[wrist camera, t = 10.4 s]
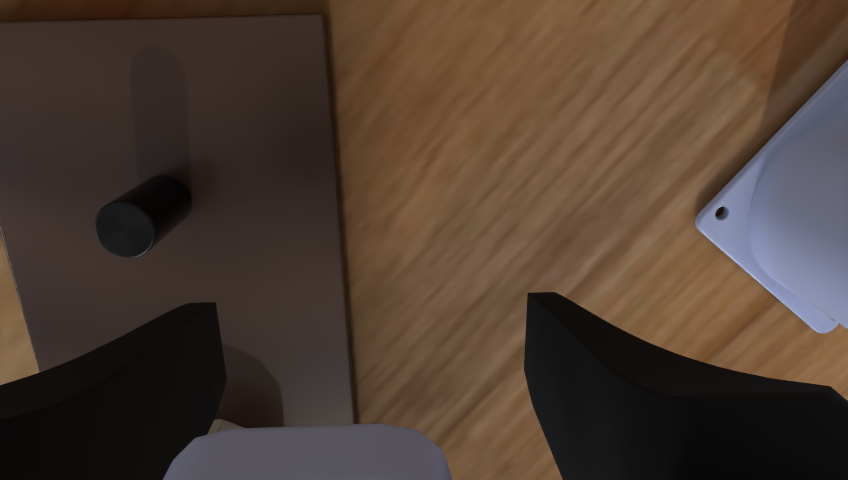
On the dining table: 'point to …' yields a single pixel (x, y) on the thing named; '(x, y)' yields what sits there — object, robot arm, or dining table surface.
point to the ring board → (236, 173)
